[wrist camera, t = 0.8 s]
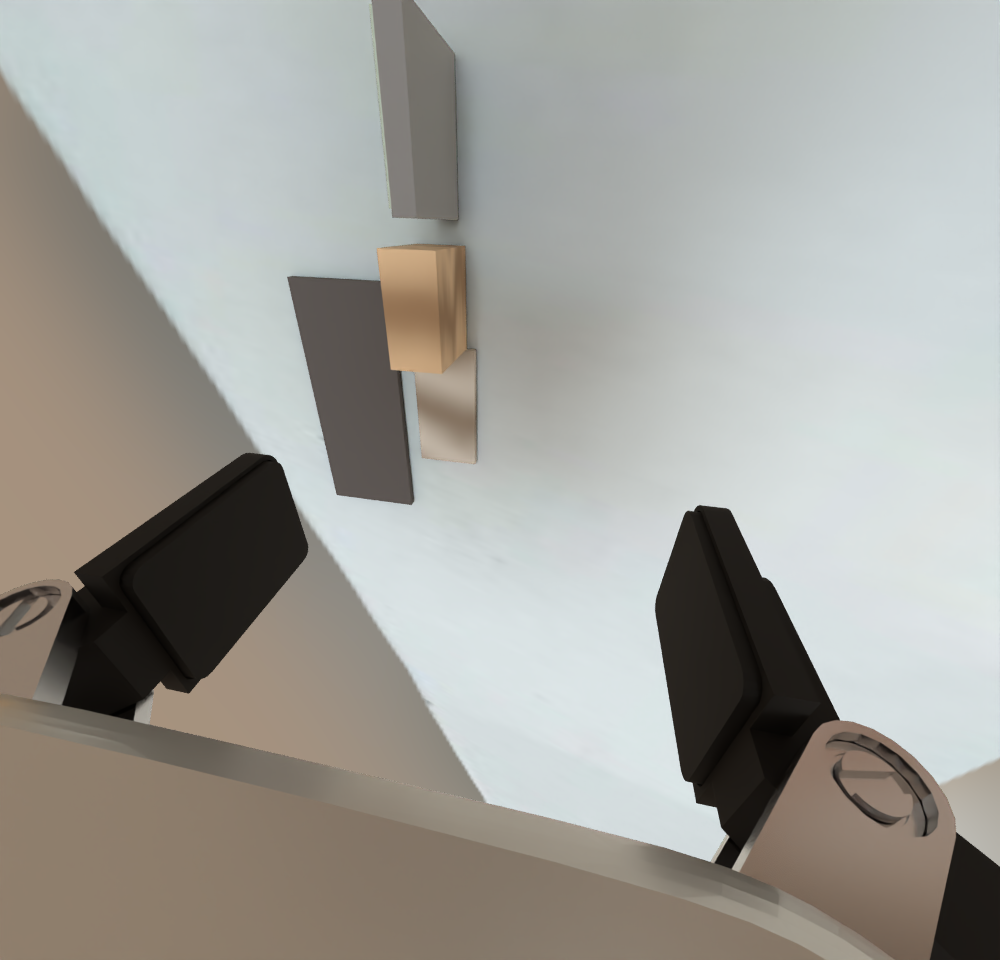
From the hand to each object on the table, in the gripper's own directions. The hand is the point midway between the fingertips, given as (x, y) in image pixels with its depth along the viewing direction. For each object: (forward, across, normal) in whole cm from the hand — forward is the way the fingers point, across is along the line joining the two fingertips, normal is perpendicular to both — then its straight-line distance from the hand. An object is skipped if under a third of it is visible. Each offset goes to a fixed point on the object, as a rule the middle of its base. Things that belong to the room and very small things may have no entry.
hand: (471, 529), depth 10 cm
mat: (+24, +16, +8) cm, 30 cm away
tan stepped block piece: (+24, +8, +4) cm, 26 cm away
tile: (+24, +8, -10) cm, 27 cm away
